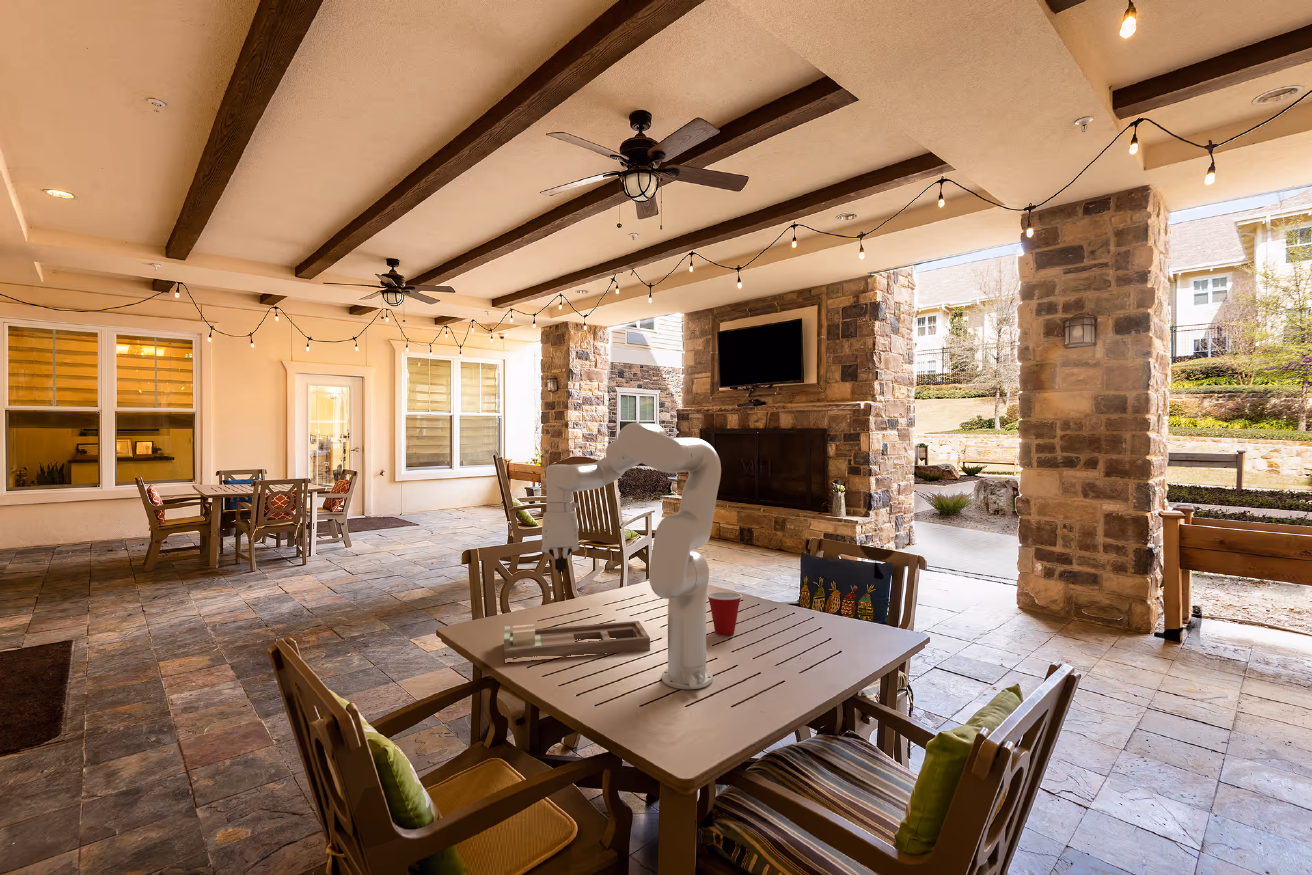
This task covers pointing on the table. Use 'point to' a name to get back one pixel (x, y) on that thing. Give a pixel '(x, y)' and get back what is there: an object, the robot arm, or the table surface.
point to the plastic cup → (724, 611)
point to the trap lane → (564, 644)
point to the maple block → (523, 635)
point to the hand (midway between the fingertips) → (560, 571)
